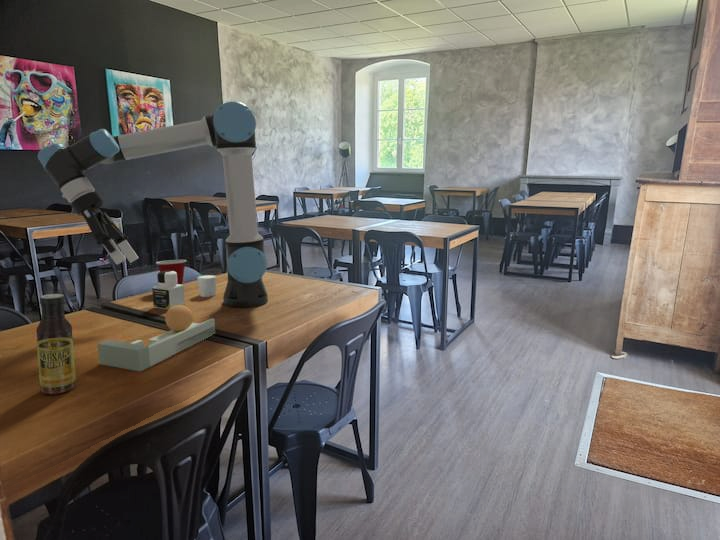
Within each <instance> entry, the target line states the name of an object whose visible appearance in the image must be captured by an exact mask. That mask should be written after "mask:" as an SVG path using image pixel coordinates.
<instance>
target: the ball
mask: <svg viewBox="0 0 720 540" xmlns="http://www.w3.org/2000/svg"><path fill="white" fill-rule="evenodd" d="M164 317H165V318H164V320H165V325H166V326H167V327H168V328H169V329H170V330H174V331H183V330H186V329H187V328H189V327H190V325H191V324H192V323H194V314H193V312H192V310H191V309H190V308H189V306H188V307H187V306H186V305H176V306H173V307H171V308H170V309H169V310H167V311H166V313H165V316H164Z"/></svg>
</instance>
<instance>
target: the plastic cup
mask: <svg viewBox="0 0 720 540" xmlns="http://www.w3.org/2000/svg"><path fill="white" fill-rule="evenodd" d="M186 263H187V259H168V260H160V261H156V262H155V264H156V265H157V267H158V270H159V272H161V271H175V272H176V273H177V282H178V283H177V284H181V285H184V284H183V282H184V275H185V268H186V267H185V266H186Z"/></svg>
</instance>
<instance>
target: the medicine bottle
mask: <svg viewBox="0 0 720 540" xmlns="http://www.w3.org/2000/svg"><path fill="white" fill-rule="evenodd" d="M156 278H157V285H155V286H152V290H151V292H152V301H153V308H154V309H160V310H161V309H162V310H167V311H168V310H169V309H170V308H171V307H173V306H176V305H183V306H186V305H185V304H186V301H185V300H186V299H185V285H184V284H182V285H181V284H177V283H178V282H177V273H176V272H175V271H161V272H160V271H159V272H157V277H156Z"/></svg>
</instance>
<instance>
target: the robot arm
mask: <svg viewBox="0 0 720 540" xmlns="http://www.w3.org/2000/svg"><path fill="white" fill-rule="evenodd" d="M256 121H257V120H256V117H255V114H254V113H253V111H252V110H251V109H250V107H249V106H248V105H246V104H244V103H243V102H240V101H235V100H234V101H233V100H231V101H227V102H226V101H225V102H224V103H222V104H220V105H219V106H218V107H217V108H216V110H215V112H214V113H213V114H210V115H209V114H208V115H204V116H203V117H202V118H201V120H196V121H190V122H185V123H180V124H175V125H174V124H173V125H168V126H164V127H158V128H152V129H147V130H146V129H145V130H141V131H136V132H130V133H125V134H119V135H112V134H111V133H110V132H109V131H108V130H107V129H105V128H100V129H98V130H96V131H93V132H90V134H88V135H87V136H84V137H82V138H80V139H79V140H78V141H75V142H74V143H73V144H71V145H68V146H66V145H64V144H62V143H59V142H58V143H56V142H55V143H52V144H50V145H47V146H44V147H43V148H42V149H40V150H39V151H38V154H37V159H38V161H40V163H41V165H42V167H43V168H44V171H45V172H46V173H47V174H48V175H49V177H50V179H52V181H53V182H54V184H55V185H56V186H57V187H58V190H59V191H60V192H61V193H62V194H61V197H62V198H65V199H66V200H67V201H68V203H69V204H70V203H71V204H70V206H71V208H72V209H73V210H74V212H75V213H76V215H77V216H82V217H83V218H84V220H85V222H86V223H87V226H88V227H89V229H90V231H91V233H92V235H93V237H94V239H95V241H96V244H97V245H98V246H103V248H104V249H105V251H106V252H107V253H108V255H109V256H110V258H111V259H112V261H113V262H114V263H115V264H116V265H119V264H121V263H122V262H124V261H125V260H127V261H128V262H129V264H132V263H133V262H134V261H135V262H136V260H138V259H140V258H139V256H138V255H137V253H136V252H135V250H134V249H133V248H132V246H131V245H130V243H129V242H128V240H129V236H127V235H125V234H124V233H123V231H122V230H121V229H120V228H119V227H118V226H117V225H116V223H115V222H114V221H113V219H111V218H110V216H109V215H108V213H107V212H106V211H103V212H102V210H100V209H101V207H102V206H103V205H104V200H103V199H102V198H101V196H100V195H99V193H98V192H96V191H95V190H96V188H95V187H94V186H93V185H92V183H91V182H90V180H89V179H88V178H87V176H86V175H85V174H84V172H86V171H88V170H89V169H92V168H94V167H96V166H97V165H99V164H102V165H113V164H116V163H118V162H123V161H128V160H134V159H138V158H143V157H149V156H156V155H159V154H160V155H161V154H165V153H169V152H174V151H175V152H176V151H180V150H185V149H190V148H196V147H200V146H201V147H202V146H206V145H208V146H211V148H214V147H216V151H217V152H218V153H220V154H221V156H222V163H223V174H224V185H225V186H224V187H225V197H226V205H227V217H228V228H229V235H228V236H227V237H226V239H225V249H226V252H225V253H226V268H227V270H226V271H227V283H226V286H225V289H224V293H223V297H222V299H223V304H224V305H226V306H228V307H234V308H249V307H257V306H261V305H264V304H267V302H268V299H269V296H268V291H267V289H266V287H265V284H264V281H263V276H264V275H265V273H266V270H267V266H268V261H267V257H266V253H265V244H264V243H265V242H264V237H263V236H262V235H261V234H260V233H259V229H258V218H257V217H258V215H257V205H256V194H255V192H256V191H255V183H254V182H255V181H254V169H253V168H254V167H253V156H252V155H253V153H254V152H255V151H256V150H257V143H256V127H257V122H256ZM110 237H111V238H110ZM115 242H116V243H115Z"/></svg>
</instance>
